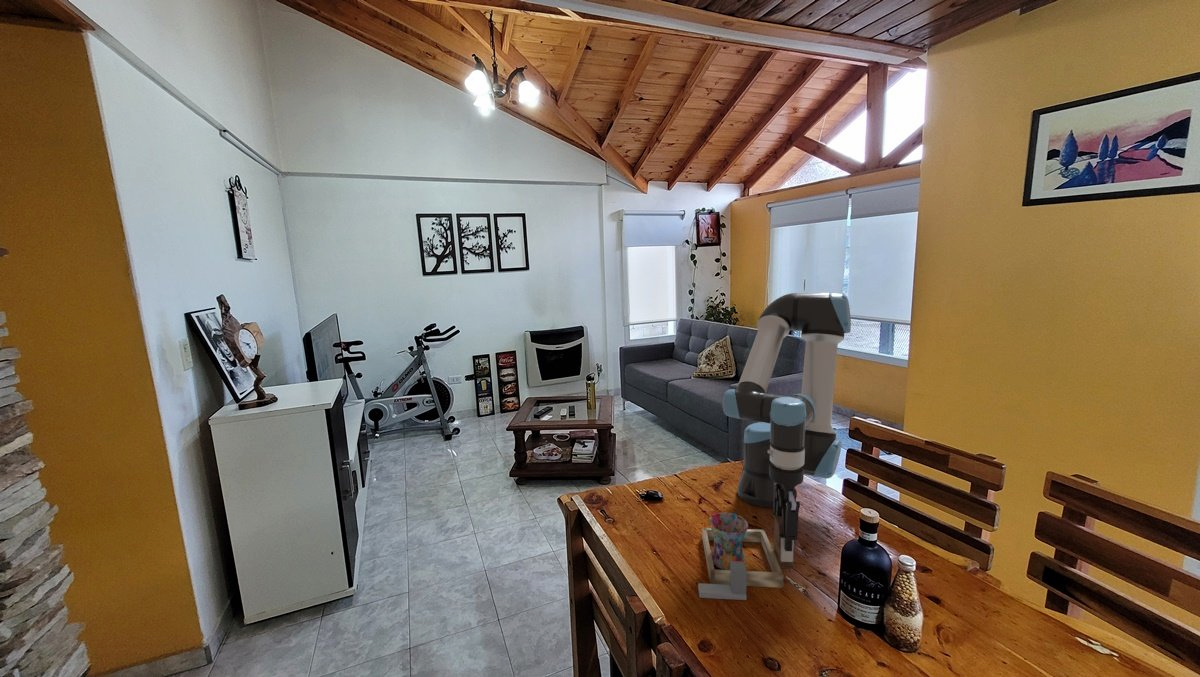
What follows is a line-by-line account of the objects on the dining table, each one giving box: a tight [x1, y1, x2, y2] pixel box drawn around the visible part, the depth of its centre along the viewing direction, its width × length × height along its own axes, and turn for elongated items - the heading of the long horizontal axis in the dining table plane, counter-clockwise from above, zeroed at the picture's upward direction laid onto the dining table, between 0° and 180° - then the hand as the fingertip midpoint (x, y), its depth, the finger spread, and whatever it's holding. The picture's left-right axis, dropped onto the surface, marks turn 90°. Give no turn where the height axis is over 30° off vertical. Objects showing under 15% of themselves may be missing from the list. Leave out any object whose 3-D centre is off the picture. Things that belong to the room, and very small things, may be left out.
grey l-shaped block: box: [697, 561, 748, 601], centre depth 99 cm, size 10×3×7 cm, turn 83°
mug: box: [708, 512, 749, 570], centre depth 111 cm, size 12×9×11 cm
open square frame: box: [701, 516, 795, 588], centre depth 110 cm, size 20×18×11 cm
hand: (783, 554), depth 109 cm, fingers closed on open square frame, 4 cm apart
